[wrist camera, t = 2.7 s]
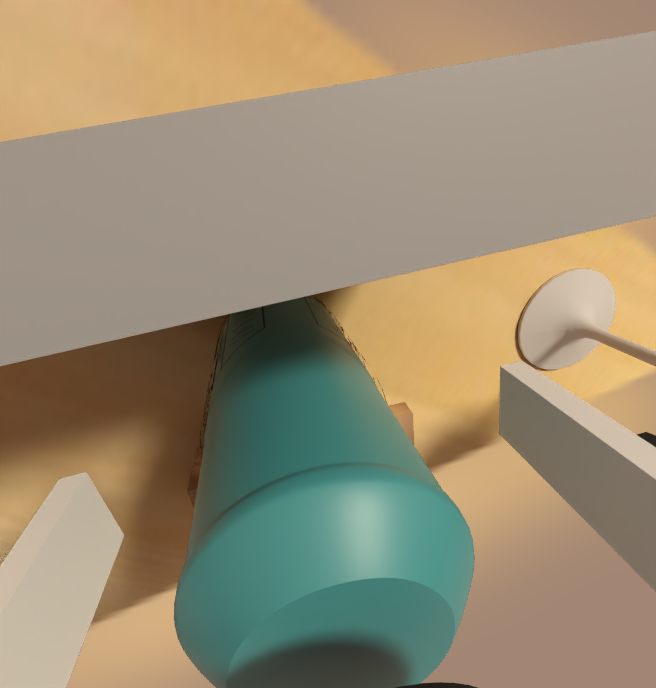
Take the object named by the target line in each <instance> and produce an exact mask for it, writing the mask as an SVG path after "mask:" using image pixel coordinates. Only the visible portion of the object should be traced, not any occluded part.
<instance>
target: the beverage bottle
mask: <svg viewBox="0 0 656 688" xmlns="http://www.w3.org/2000/svg"><path fill="white" fill-rule="evenodd" d="M312 296H313V295H312ZM315 299H316V298H315ZM315 299H313V298H311V297H310V296H305V297H301V298H296V299H292V300H288V301H283V302H279V303H274V304H270V305H266V306H261V307H257V308H253V309H248V310H244V311H240V312H235V313H232V314H231V315H230V314H229V315H230V317H228V320H227V322H226V324H225V326H224V329H223V332H222V338H221V343H220V349H219V355H218V357H217V358H218V360H216V367H215V373H214V378H213V384H212V387H211V389H212V395H211V396H210V397H211V398H210V397H209V399H211V400H210V403H209V400H208V403H209V404H210V406H209V410H208V413H207V412H206V411H205V412H206V413H207V416H208V418H206V421H207V423H206V422H205V423H206V424H205V426H204V428H205V427H206V429H205V430H204V431H205V439H204V449H203V456H202V455H201V458H202V462H201V468H200V474H199V481H198V487H197V493H196V499H195V506H194V512H193V518H192V524H191V531H190V537H189V543H188V550H187V556H186V562H185V564H184V567H183V569H182V572H181V575H180V577H179V581H178V586H177V591H176V597H175V603H174V621H175V628H176V632H177V636H178V639H179V641H180V644H181V646H182V648H183V650H184V651H185V653H186V654H187V656H188V657H189V659H190V660H191V661H192V663H193V664H194V665H195V666H196V668H197V669H198V670H199V671H200V672H201V673H202V674H203V675H204V676H205V677H206V678H207V679H208V680H209V681H210V682H211V683H212V684H213V685H214V686H215V687H216V688H476V687H473V686H470V685H464V684H457V683H423V684H420V683H421V682H422V681H423V680H424V679H426V678H427V677H428V676H429V675H430V674H431V673H432V672H433V671H434V670H435V669H436V668H437V666H438V665H439V664H440V663H441V662H442V660H443V659H444V658H445V656H446V654H447V653H448V651H449V649H450V647H451V644H452V642H453V639H454V637H455V635H456V632H457V630H458V627H459V625H460V621H461V618H462V615H463V612H464V609H465V606H466V602H467V599H468V595H469V591H470V587H471V582H472V577H473V571H474V560H475V557H474V547H473V539H472V536H471V533H470V529H469V527H468V525H467V523H466V521H465V519H464V517H463V516H462V514H461V512H460V511H459V509H458V507H457V506H456V505H455V504H454V502H453V501H452V500H451V499H450V498H449V496H448V495H447V494H446V493H445V492H444V491H443V490H442V489H441V487H440V485H439V484H438V482H437V481H436V479H435V478H434V476H433V474H432V473H431V471H430V470H429V468H428V467H427V465H426V464H425V462H424V460H423V459H422V457H421V456H420V454H419V453H418V451H417V450H416V448H415V446H414V445H413V443H412V442H411V440H410V439H409V437H408V436H407V434H406V432H405V431H404V429H403V428H402V426H401V425H400V423H399V422H398V420H397V418H396V417H395V415H394V414H393V412H392V411H391V409H390V408H389V406H388V404H387V402H386V401H385V400H386V399H385V400H384V398H383V397H382V395H381V394H380V392H379V390H378V389H377V387H376V384H375V381H373V379H374V378H373V379H372V378H371V376H370V374H369V373H368V371H367V370H366V368H365V366H364V365H365V364H364V365H363V363H362V362H361V360H360V359H359V355H358V356H357V354H356V353H355V351H354V350H353V348H352V347H351V345H350V344H351V342H350V341H349V342H350V344H349V342H348V341H347V340H346V338H345V337H344V335H343V334H344V333H343V334H342V332H341V331H343V332H344V330H343V329H342V330H341V331H340V329H341V328H342V326H341V328H338V326H340V325H338V326H337V325H336V323H337V322H336V321H335V322H336V323H335V322H334V320H333V319H332V317H331V315H330V314H331V313H330V312H329V313H328V312H327V311H328V310H327V309H325V306H324V307H323V306H322V305H321V304H320V303H319V302H317V301H319V300H317V299H318V298H317V299H316V300H317V301H316V300H315ZM321 303H322V301H321ZM323 305H324V304H323ZM227 316H228V315H227ZM334 317H335V316H334ZM219 336H220V334H219ZM348 337H349V336H348ZM348 340H349V339H348ZM218 341H219V337H218ZM218 341H217V346H218ZM352 344H353V343H352ZM217 346H216V351H215V356H214V360H215V357H216V352H217V350H218V349H217ZM354 347H355V349H356V346H354ZM356 351H357V350H356ZM357 353H358V352H357ZM362 357H363V356H362ZM362 359H364V358H362ZM364 360H365V359H364ZM363 362H364V361H363ZM213 363H214V361H213ZM367 364H368V363H367ZM212 372H213V371H211V373H212ZM211 377H212V374H211ZM211 377H210V378H211ZM377 380H378V379H377ZM378 382H379V381H378ZM209 384H210V382H209ZM379 384H380V383H379ZM208 387H209V386H208ZM208 389H209V392H210V390H211V389H210V388H208ZM382 391H383V390H382ZM209 394H210V393H209ZM209 394H208V395H209ZM383 394H384V393H383ZM384 397H385V396H384ZM206 398H207V396H206ZM206 401H207V399H206ZM206 401H205V403H206ZM208 403H207V404H208ZM205 406H206V405H205ZM207 407H208V405H207ZM207 407H206V408H205V407H204V408H205V409H204V410H206V409H207ZM205 412H204V413H205ZM206 413H205V415H206ZM205 415H204V416H203V417H204V418H205ZM203 420H204V421H205V419H203ZM203 425H204V424H203ZM200 435H201V433H200ZM200 448H201V441H200Z"/></svg>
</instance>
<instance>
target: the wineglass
mask: <svg viewBox="0 0 656 688" xmlns="http://www.w3.org/2000/svg"><path fill="white" fill-rule="evenodd" d="M615 307H616V297H615V292H614V288H613V286H612V285H611V283H610V281H609V279H607V278H606V277H605V276H604V275H603V274H601V273H599V272H597V271H594V270H591V269H572V270H568V271H564V272H562V273H560V274H558V275H556V276H554V277H552V278H551V279H550V280H548V281H547V282H546V283H545V284H543V285H542V286H541V287H540V288H539V289H538V290H537V291H536V292H535V294H534V295H533V296H532V297H531V298H530V300H529V302H528V303H527V305H526V307H525V308H524V310H523V313H522V316H521V318H520V321H519V327H518V333H517V334H518V345H519V347H520V350H521V352H522V354H523V356H524V357H525V358H526V359H527V360H528V361H529V362H530V363H532V364H534V365H535V366H537V367H539V368H543V369H547V370H552V369H561V368H565V367H568V366H571V365H573V364H575V363H577V362H579V361H580V360H582V359H583V358H585V357H586V356H587V355H589V354H590V353H591V352H592V351H593V350H594V349H595V348H596V347H597V346H598V345H599V344H600V342H601V343H603V344H606V345H608V346H610V347H612V348H615V349H617V350H619V351H622V352H624V353H626V354H628V355H631V356H633V357H635V358H638V359H640V360H642V361H644V362H647V363H649V364H651V365H654V366H656V351H654V350H652V349H649V348H647V347H644V346H642V345H639V344H637V343H634V342H632V341H629V340H627V339H624V338H622V337H619V336H617V335H614V334H612V333H609V332H608V330H609V327H610V325H611V323H612V321H613V317H614V313H615Z"/></svg>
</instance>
